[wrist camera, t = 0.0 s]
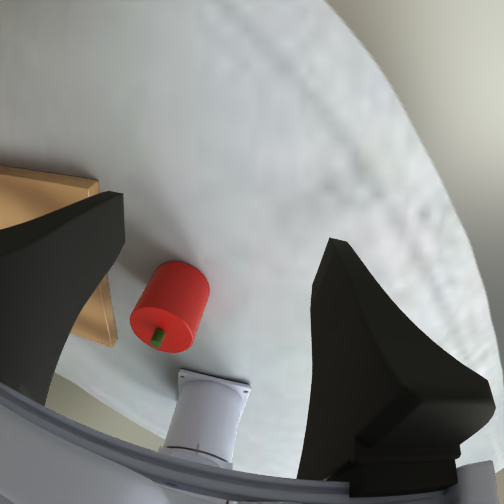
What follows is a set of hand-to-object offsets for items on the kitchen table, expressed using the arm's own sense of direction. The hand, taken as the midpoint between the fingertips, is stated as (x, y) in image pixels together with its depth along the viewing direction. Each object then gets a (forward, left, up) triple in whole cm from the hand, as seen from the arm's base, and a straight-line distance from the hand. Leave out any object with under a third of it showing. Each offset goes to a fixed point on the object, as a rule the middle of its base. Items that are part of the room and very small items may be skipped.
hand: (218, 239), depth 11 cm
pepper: (-12, +4, -10) cm, 16 cm away
